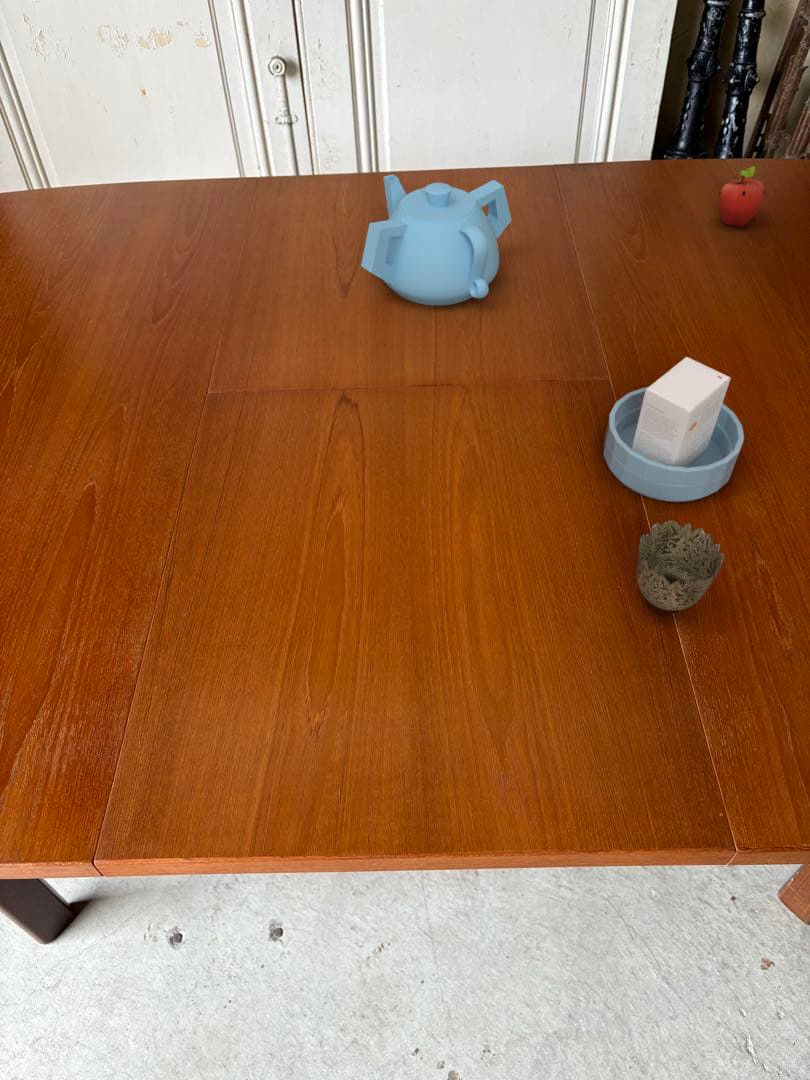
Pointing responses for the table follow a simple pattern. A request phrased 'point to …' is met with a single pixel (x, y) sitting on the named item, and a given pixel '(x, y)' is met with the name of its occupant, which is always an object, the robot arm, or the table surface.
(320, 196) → the table surface
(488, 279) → the teapot
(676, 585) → the cup
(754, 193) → the apple
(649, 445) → the small box
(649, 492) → the bowl
